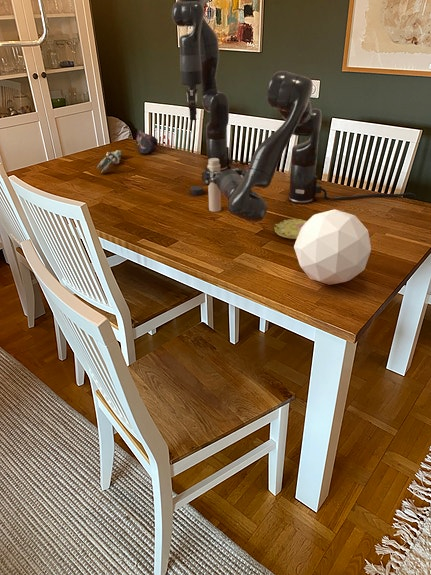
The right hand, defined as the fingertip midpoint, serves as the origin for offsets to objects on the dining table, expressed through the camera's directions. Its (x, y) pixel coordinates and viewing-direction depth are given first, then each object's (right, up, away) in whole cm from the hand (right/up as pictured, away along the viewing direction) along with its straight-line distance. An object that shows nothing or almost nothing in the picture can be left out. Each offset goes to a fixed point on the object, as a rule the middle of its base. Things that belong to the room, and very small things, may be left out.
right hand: (219, 169), depth 146 cm
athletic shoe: (-37, +34, +89) cm, 102 cm away
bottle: (-2, -10, +19) cm, 21 cm away
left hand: (-10, +24, +18) cm, 31 cm away
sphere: (+30, -37, -25) cm, 53 cm away
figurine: (-52, +20, +68) cm, 88 cm away
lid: (-9, +1, +33) cm, 34 cm away
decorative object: (+27, -21, 0) cm, 34 cm away
